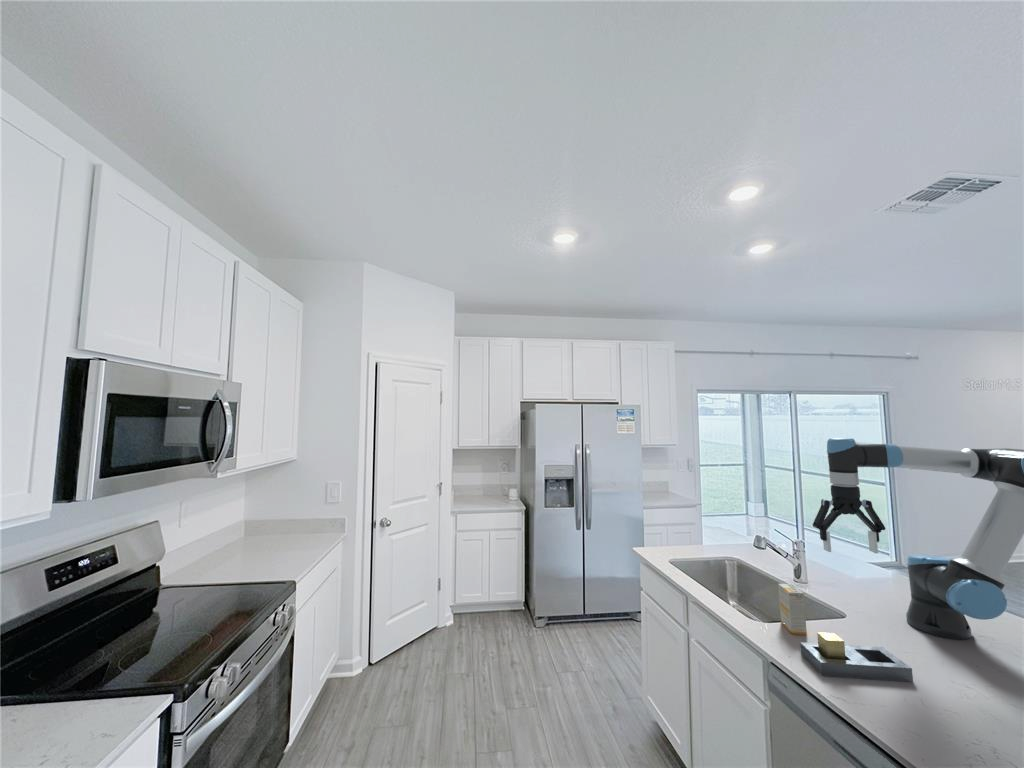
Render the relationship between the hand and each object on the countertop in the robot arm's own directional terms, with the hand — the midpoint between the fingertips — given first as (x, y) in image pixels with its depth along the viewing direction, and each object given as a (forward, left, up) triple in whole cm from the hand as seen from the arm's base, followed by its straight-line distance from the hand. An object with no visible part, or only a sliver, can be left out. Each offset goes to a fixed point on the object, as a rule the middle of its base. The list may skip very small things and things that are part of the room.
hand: (850, 551), depth 135 cm
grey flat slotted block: (+12, +18, -27) cm, 34 cm away
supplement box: (+17, -4, -27) cm, 32 cm away
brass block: (+17, +18, -27) cm, 37 cm away
